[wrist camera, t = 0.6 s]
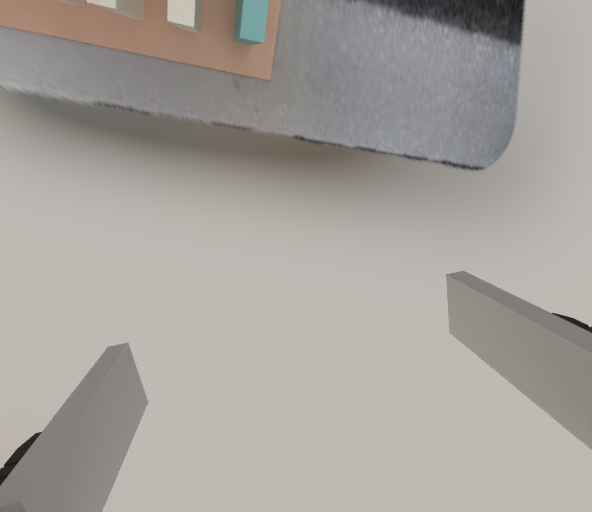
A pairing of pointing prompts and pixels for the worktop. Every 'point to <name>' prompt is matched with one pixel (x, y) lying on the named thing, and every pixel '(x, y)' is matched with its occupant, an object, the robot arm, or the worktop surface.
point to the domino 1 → (74, 2)
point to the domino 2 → (123, 7)
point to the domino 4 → (250, 21)
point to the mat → (153, 32)
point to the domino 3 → (185, 14)
